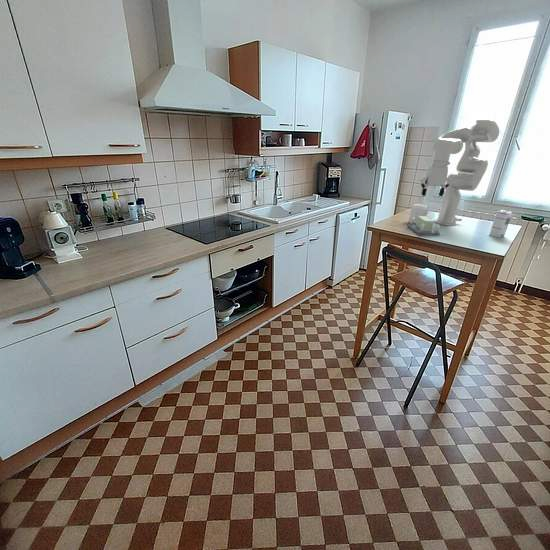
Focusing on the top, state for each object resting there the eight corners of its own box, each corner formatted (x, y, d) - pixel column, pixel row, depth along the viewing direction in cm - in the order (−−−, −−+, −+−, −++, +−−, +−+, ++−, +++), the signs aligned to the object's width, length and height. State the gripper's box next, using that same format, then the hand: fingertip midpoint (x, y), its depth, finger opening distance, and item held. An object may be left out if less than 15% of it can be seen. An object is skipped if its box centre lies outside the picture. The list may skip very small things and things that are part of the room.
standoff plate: (426, 227, 185) (429, 217, 182) (439, 235, 169) (442, 225, 167) (407, 226, 185) (409, 217, 182) (418, 234, 170) (421, 224, 167)
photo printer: (407, 222, 195) (411, 203, 189) (410, 221, 197) (414, 202, 192) (422, 225, 188) (427, 206, 182) (425, 224, 190) (430, 205, 185)
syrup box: (499, 237, 169) (508, 212, 162) (488, 234, 173) (497, 210, 167) (504, 236, 172) (513, 211, 165) (493, 233, 176) (501, 209, 170)
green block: (423, 225, 181) (426, 216, 179) (431, 231, 171) (434, 221, 169) (415, 225, 181) (417, 216, 179) (423, 231, 172) (425, 221, 169)
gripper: (452, 163, 164) (443, 194, 171) (421, 163, 164) (414, 194, 172) (459, 165, 157) (450, 197, 165) (426, 164, 157) (419, 196, 165)
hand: (431, 195), depth 168 cm, fingers open, 9 cm apart
